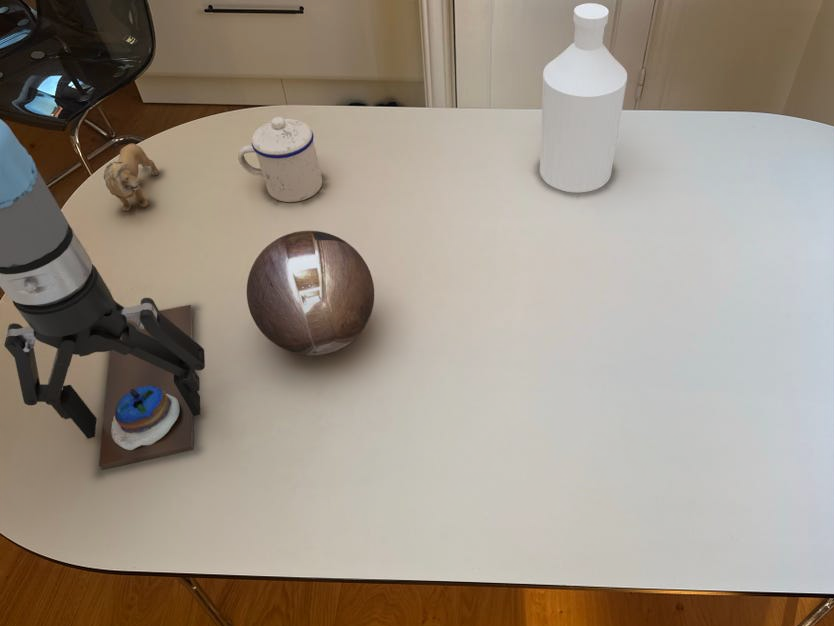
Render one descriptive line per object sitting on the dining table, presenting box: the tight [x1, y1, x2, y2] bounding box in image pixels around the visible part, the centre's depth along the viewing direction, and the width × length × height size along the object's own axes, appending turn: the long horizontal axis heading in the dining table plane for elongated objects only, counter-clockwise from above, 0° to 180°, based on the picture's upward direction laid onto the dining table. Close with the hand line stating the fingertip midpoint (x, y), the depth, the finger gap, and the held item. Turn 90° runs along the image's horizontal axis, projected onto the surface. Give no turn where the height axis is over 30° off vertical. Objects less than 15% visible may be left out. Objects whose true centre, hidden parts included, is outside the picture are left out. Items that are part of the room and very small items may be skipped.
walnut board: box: [98, 304, 194, 470], centre depth 86 cm, size 10×23×1 cm, turn 15°
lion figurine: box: [103, 143, 160, 212], centre depth 107 cm, size 15×5×9 cm, turn 13°
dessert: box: [111, 386, 180, 450], centre depth 81 cm, size 8×7×6 cm
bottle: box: [539, 2, 628, 194], centre depth 103 cm, size 12×12×25 cm
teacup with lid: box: [237, 116, 323, 203], centre depth 107 cm, size 12×9×12 cm
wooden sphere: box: [246, 230, 375, 356], centre depth 85 cm, size 15×15×15 cm
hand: (145, 417), depth 82 cm, fingers open, 11 cm apart
